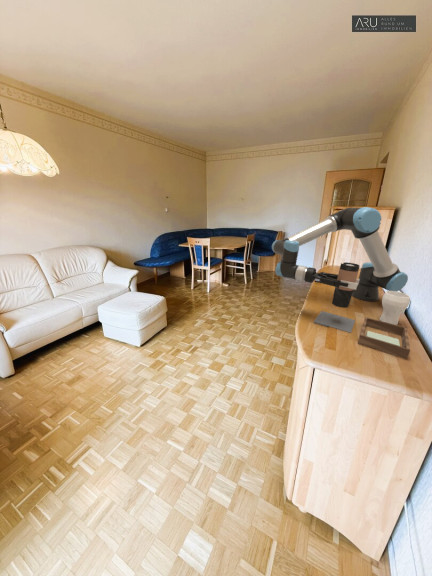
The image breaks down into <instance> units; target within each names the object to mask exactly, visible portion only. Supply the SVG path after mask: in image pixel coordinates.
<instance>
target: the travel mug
mask: <svg viewBox="0 0 432 576" xmlns="http://www.w3.org/2000/svg"><path fill="white" fill-rule="evenodd" d="M360 268H361V267H360V264H357V263H353V262H343V263H342V262H341V263H340V266H339V270H338V274H337V275H338V278H337V280H339V281H341V280H342V281H348V282H353V283H355V282H356V279H358V275H359V271H360ZM353 290H354V289H350V288H346V287H341V286H339V288H337V287H334V291H333V296H332V301H331V304H332V305H333V306H335V307H338V308H342V309H346V308H349V305H350V303H351V299H352V297H353V296H352V293H353Z"/></svg>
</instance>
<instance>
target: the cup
mask: <svg viewBox="0 0 432 576" xmlns="http://www.w3.org/2000/svg"><path fill="white" fill-rule="evenodd" d="M410 300H411V296H410V295H408V294H407V293H404V292H400V291H388V290H386V291H385V293H384V294H383V295H382V298H381V304H382V313H381V315H380V317H379V321H383V322H387V323H390V324H394V325H398V323H399V318H400V315H401V314H402V313H403V312H404V311H406V309H407V308H408V307H409V305H410Z"/></svg>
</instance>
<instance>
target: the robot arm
mask: <svg viewBox="0 0 432 576" xmlns="http://www.w3.org/2000/svg"><path fill="white" fill-rule="evenodd" d="M381 221H382V216H381V213H380V211H379V210H378V209H376V208H373V207H369V206H366V207H365V206H364V207H346V208H343V209H341V210H339V211H336V212H335V213H332V214H330V215H328V216H327V217H326V218H325V219H323V220H322V221H319V222H317V223H316V224H313V225H311V226H309V227H307V228H305V229H303V230H301V231H298V232H296V233H294V234H292V235H290V236H288V237H286V238H283V239H277V240H275V241H273V243H272V244H271V249H272V251H273V252H274V253H275V254H277V255H279V256H281V261H280V262H277V264H276V266H275V274H276V275H277V276H279V277H282V278H285V279H286V278H287V279H290V280H297V281H298V282H305V283H310V284H313V283H320V284H321V285H327V286H330V287H334V288H335V287H337V288H339V286H341V287H346V288H350V289H354V290H353V293H352V297H353V298H355V299H357V298H358V300H361V301H366V302H378V301H379V298H380V293H379V288H381V289H384V290H386V291H396V292H400V291H401V290H402V289H404V287H405V286H406V285H407V283H408V281H409V280H408V279H409V277H408V274H406V273H405V272H402V271H400V269H399V266H398V265H397V264H396V263H393V261H392V259H391V257H390V254H389V253H388V251H387V248H386V246H385V244H384V242H383V239H382V238H381V236H380V233H379V230H380V228H381V227H380V226H381ZM343 230H346V231H351V233H352V235H353V236H354V238H355V239H359V241H360V243H361V245H362V247H363V249H364V252H365V253H366V256H367V257H368V259H369V261H370V262H369V261H368V262H364V263H362V265H361V267H360V270H359V271H360V272H359V274H358V275H359V276H358V278H357V279H356V282H355V283H353V282H348V281H342V280H341V281H339V280H337V278H338V274H336V273H329V272H325V271H322V272H317V268H315V267H308V266H304V265H300V264H299V265H297V261H298V256H299V250H300V246H304V245H306V244H307V243H310V242H312V241H314V240H316V239H318V238H320V237H323V236H325V235H327V234H329V233H336V232H337V231H343Z"/></svg>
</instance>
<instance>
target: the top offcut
mask: <svg viewBox="0 0 432 576" xmlns="http://www.w3.org/2000/svg"><path fill="white" fill-rule="evenodd" d="M365 335H366V336H368V337H371V338H375V339H378V340H381V341H385V342H388V343H391V344H395V345H398V346H401V345H400V343H401V342H400V340H399V338H396V337H392V336H389V335H384V334H381V333H377V332H373V331H370V330H367V331H366V333H365Z"/></svg>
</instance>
